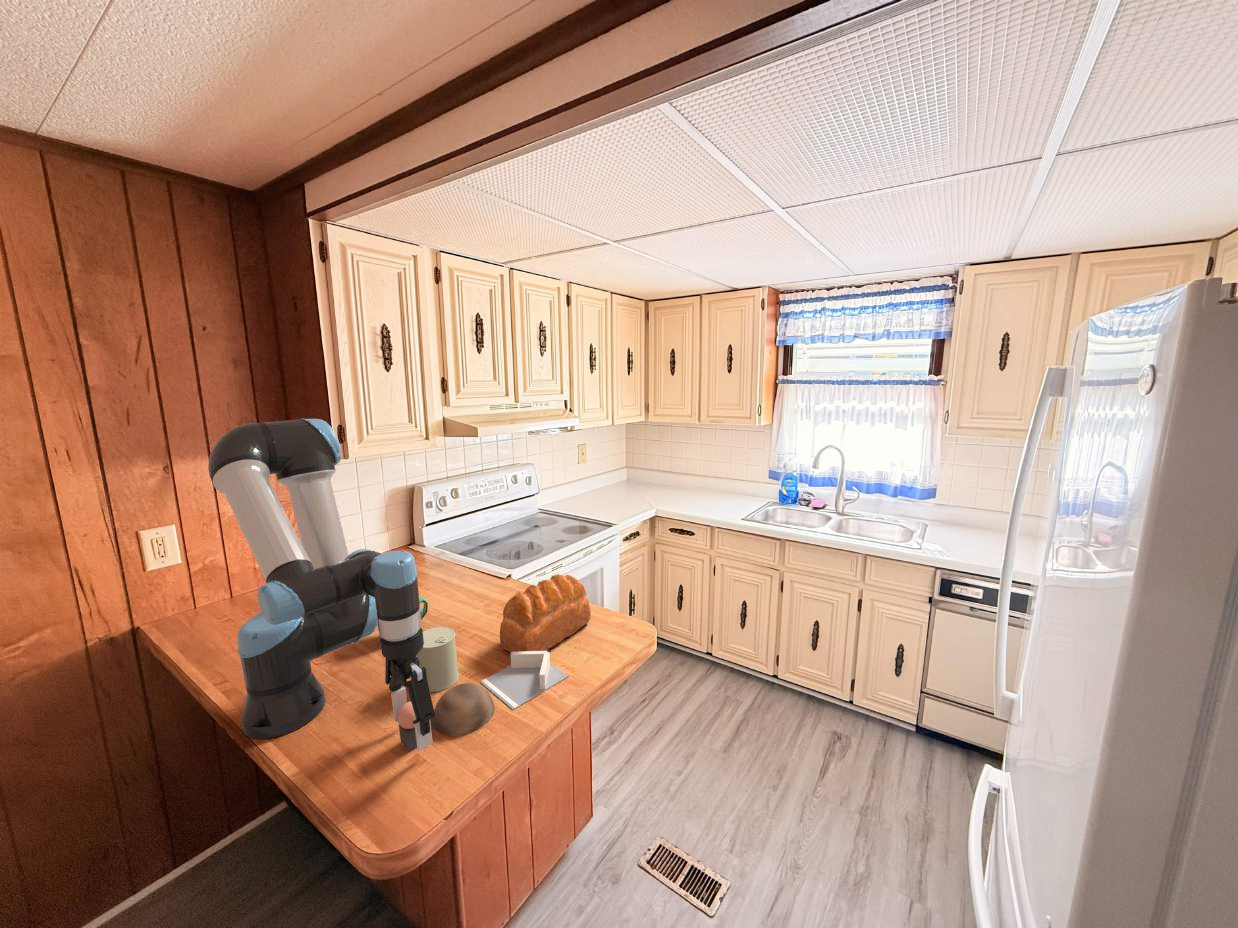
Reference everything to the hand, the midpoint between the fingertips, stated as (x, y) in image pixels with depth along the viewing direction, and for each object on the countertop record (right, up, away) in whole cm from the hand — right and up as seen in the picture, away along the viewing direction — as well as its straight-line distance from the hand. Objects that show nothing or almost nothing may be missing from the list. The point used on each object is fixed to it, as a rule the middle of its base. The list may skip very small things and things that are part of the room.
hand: (412, 731), depth 97 cm
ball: (0, +4, -1) cm, 4 cm away
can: (-2, +1, +20) cm, 20 cm away
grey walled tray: (+19, +2, +19) cm, 27 cm away
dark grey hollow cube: (0, -2, 0) cm, 2 cm away
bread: (+22, +6, +39) cm, 45 cm away
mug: (-20, +5, +40) cm, 45 cm away
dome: (+8, -7, +10) cm, 14 cm away
